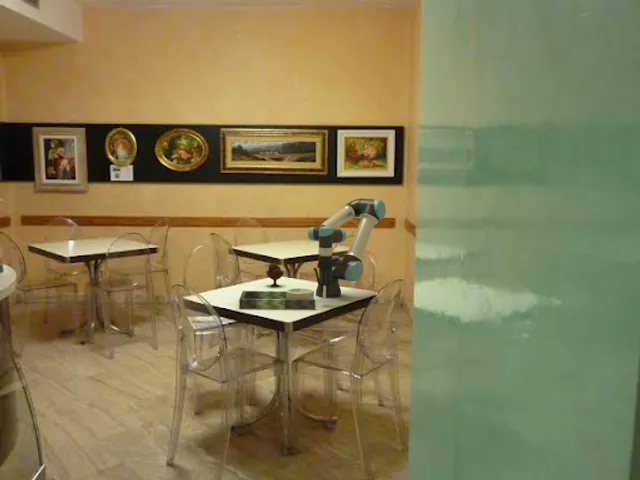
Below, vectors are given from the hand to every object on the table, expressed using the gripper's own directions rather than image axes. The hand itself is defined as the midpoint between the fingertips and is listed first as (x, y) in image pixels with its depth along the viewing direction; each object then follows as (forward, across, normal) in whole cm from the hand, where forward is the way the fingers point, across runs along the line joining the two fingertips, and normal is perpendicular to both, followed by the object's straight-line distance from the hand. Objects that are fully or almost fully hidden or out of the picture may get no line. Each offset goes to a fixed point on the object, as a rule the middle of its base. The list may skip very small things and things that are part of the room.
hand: (324, 297), depth 315 cm
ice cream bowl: (+4, -28, +50) cm, 58 cm away
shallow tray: (+4, -25, 0) cm, 26 cm away
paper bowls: (+4, -13, 0) cm, 14 cm away
